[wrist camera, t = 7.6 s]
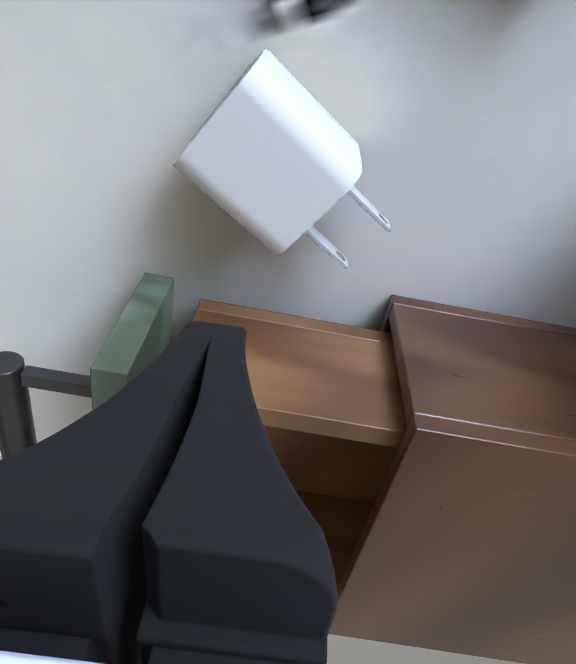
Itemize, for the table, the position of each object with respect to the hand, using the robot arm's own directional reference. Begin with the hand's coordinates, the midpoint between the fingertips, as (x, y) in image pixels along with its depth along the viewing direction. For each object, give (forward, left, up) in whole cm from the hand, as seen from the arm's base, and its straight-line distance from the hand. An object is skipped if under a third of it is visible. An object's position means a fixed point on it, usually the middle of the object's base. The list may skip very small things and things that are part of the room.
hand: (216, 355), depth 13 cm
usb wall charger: (-2, +1, -10) cm, 10 cm away
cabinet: (+9, +13, -9) cm, 19 cm away
